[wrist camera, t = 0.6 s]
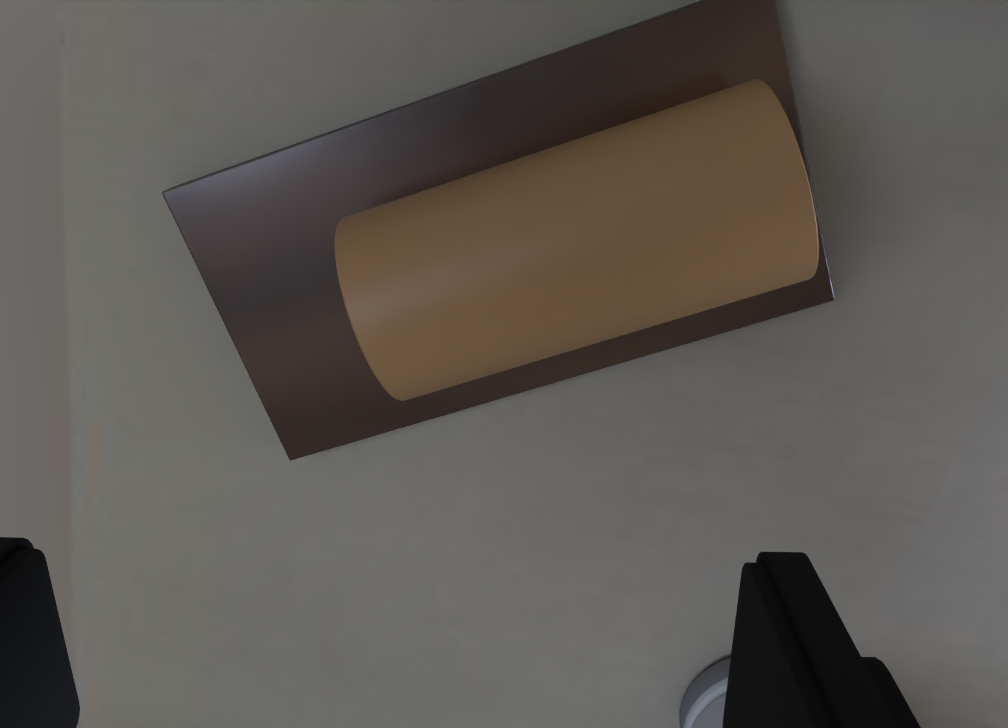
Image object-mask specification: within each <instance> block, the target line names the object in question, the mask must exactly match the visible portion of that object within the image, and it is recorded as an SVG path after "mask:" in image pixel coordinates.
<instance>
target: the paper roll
mask: <svg viewBox="0 0 1008 728" xmlns="http://www.w3.org/2000/svg"><path fill="white" fill-rule="evenodd" d="M334 246H335V260H336V268H337V274H338V279H339V284H340V288H341V292H342V296H343V300H344V304H345V307H346V310H347V313H348V316H349V319H350V322H351V325H352V328H353V331H354V333H355V336H356V338H357V341H358V343H359V345H360V347H361V350H362V352H363V354H364V356H365V358H366V360H367V362H368V364H369V366H370V368H371V369H372V371H373V373H374V375H375V376H376V378H377V379H378V381H379V382H380V384H381V385H382V386H383V388H384V389H385V390H386V391H387V392H388V393H389V394H390V395H391V396H392V397H393V398H395V399H397V400H400V401H405V400H408V399H412V398H415V397H418V396H422V395H425V394H428V393H432V392H435V391H438V390H442V389H445V388H448V387H452V386H455V385H458V384H462V383H465V382H468V381H472V380H475V379H478V378H482V377H485V376H488V375H492V374H495V373H498V372H502V371H505V370H508V369H512V368H515V367H518V366H522V365H525V364H528V363H532V362H535V361H538V360H542V359H545V358H548V357H552V356H555V355H558V354H562V353H565V352H568V351H572V350H575V349H578V348H582V347H585V346H589V345H592V344H595V343H599V342H602V341H605V340H609V339H612V338H615V337H619V336H622V335H625V334H629V333H632V332H635V331H639V330H642V329H645V328H649V327H652V326H655V325H659V324H662V323H665V322H669V321H672V320H675V319H679V318H682V317H685V316H689V315H692V314H695V313H699V312H702V311H705V310H709V309H712V308H715V307H719V306H722V305H725V304H729V303H732V302H735V301H739V300H742V299H745V298H749V297H752V296H755V295H759V294H762V293H765V292H769V291H772V290H775V289H779V288H782V287H785V286H789V285H792V284H795V283H799V282H802V281H805V280H809V279H811V278H812V277H813V276H814V275H815V273H816V270H817V266H818V258H819V241H818V229H817V221H816V214H815V208H814V203H813V198H812V193H811V189H810V184H809V180H808V177H807V173H806V169H805V166H804V162H803V159H802V156H801V153H800V150H799V147H798V144H797V141H796V138H795V135H794V133H793V130H792V128H791V125H790V123H789V121H788V118H787V116H786V114H785V112H784V110H783V108H782V106H781V104H780V102H779V101H778V99H777V97H776V96H775V94H774V93H773V91H772V90H771V89H770V87H769V86H768V85H767V84H766V83H765V82H763V81H762V80H759V79H754V80H751V81H748V82H745V83H742V84H739V85H736V86H733V87H730V88H727V89H724V90H721V91H718V92H716V93H713V94H710V95H707V96H704V97H701V98H698V99H695V100H692V101H689V102H686V103H683V104H680V105H677V106H674V107H671V108H668V109H665V110H662V111H659V112H656V113H653V114H650V115H647V116H644V117H641V118H638V119H635V120H632V121H629V122H626V123H623V124H620V125H617V126H614V127H611V128H608V129H606V130H603V131H600V132H597V133H594V134H591V135H588V136H585V137H582V138H579V139H576V140H573V141H570V142H567V143H564V144H561V145H558V146H555V147H552V148H549V149H546V150H543V151H540V152H537V153H534V154H531V155H528V156H525V157H522V158H519V159H516V160H513V161H510V162H507V163H504V164H501V165H498V166H496V167H493V168H490V169H487V170H484V171H481V172H478V173H475V174H472V175H469V176H466V177H463V178H460V179H457V180H454V181H451V182H448V183H445V184H442V185H439V186H436V187H433V188H430V189H427V190H424V191H421V192H418V193H415V194H412V195H409V196H406V197H403V198H400V199H397V200H394V201H391V202H388V203H386V204H383V205H380V206H377V207H374V208H371V209H368V210H365V211H362V212H359V213H356V214H353V215H350V216H347V217H344V218H342V219H341V220H340V221H339V223H338V224H337V227H336V231H335V242H334Z"/></svg>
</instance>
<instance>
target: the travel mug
mask: <svg viewBox="0 0 1008 728" xmlns="http://www.w3.org/2000/svg"><path fill="white" fill-rule="evenodd" d="M730 660H731V657H729V658H727V659H724V660H722V661H719V662H718V663H716V664H714V665H712V666H711V667H709V668H707V669H706V670H705V671H704V672H703V673H702V674H700V675H699V676H698V677H697V678H696V679H695V680H694V682H693V683H692V684H691V686H690V687H689V688H688V690H687V692H686V694H685V696H684V698H683V700H682V704H681V708H680V726H681V728H723V715H724V707H725V699H726V691H727V683H728V675H729V668H730Z"/></svg>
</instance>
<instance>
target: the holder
mask: <svg viewBox="0 0 1008 728" xmlns="http://www.w3.org/2000/svg"><path fill="white" fill-rule="evenodd" d="M754 79H759V80H762V81H763V82H765V83H766V84H767V85H768V86H769V87H770V89H771V90H772V91H773V93H774V94H775V96H776V97H777V99H778V101H779V102H780V104H781V106H782V108H783V110H784V112H785V114H786V116H787V118H788V121H789V123H790V125H791V128H792V130H793V133H794V135H795V138H796V141H797V144H798V147H799V150H800V153H801V156H802V159H803V162H804V166H805V169H806V173H807V177H808V180H809V184H810V189H811V193H812V198H813V203H814V208H815V214H816V221H817V229H818V241H819V258H818V266H817V270H816V273H815V275H814V276H813V277H812V278H811V279H809V280H805V281H802V282H799V283H795V284H792V285H789V286H785V287H782V288H779V289H775V290H772V291H769V292H765V293H762V294H759V295H755V296H752V297H749V298H745V299H742V300H739V301H735V302H732V303H729V304H725V305H722V306H719V307H715V308H712V309H709V310H705V311H702V312H699V313H695V314H692V315H689V316H685V317H682V318H679V319H675V320H672V321H669V322H665V323H662V324H659V325H655V326H652V327H649V328H645V329H642V330H639V331H635V332H632V333H629V334H625V335H622V336H619V337H615V338H612V339H609V340H605V341H602V342H599V343H595V344H592V345H589V346H585V347H582V348H578V349H575V350H572V351H568V352H565V353H562V354H558V355H555V356H552V357H548V358H545V359H542V360H538V361H535V362H532V363H528V364H525V365H522V366H518V367H515V368H512V369H508V370H505V371H502V372H498V373H495V374H492V375H488V376H485V377H482V378H478V379H475V380H472V381H468V382H465V383H462V384H458V385H455V386H452V387H448V388H445V389H442V390H438V391H435V392H432V393H428V394H425V395H422V396H418V397H415V398H412V399H408V400H405V401H400V400H397V399H395V398H393V397H392V396H391V395H390V394H389V393H388V392H387V391H386V390H385V389H384V388H383V386H382V385H381V384H380V382H379V381H378V379H377V378H376V376H375V375H374V373H373V371H372V369H371V368H370V366H369V364H368V362H367V360H366V358H365V356H364V354H363V352H362V350H361V347H360V345H359V343H358V341H357V338H356V336H355V333H354V331H353V328H352V325H351V322H350V319H349V316H348V313H347V310H346V307H345V304H344V300H343V296H342V292H341V288H340V284H339V279H338V274H337V268H336V260H335V246H334V242H335V231H336V227H337V224H338V223H339V221H340V220H341V219H342V218H344V217H347V216H350V215H353V214H356V213H359V212H362V211H365V210H368V209H371V208H374V207H377V206H380V205H383V204H386V203H388V202H391V201H394V200H397V199H400V198H403V197H406V196H409V195H412V194H415V193H418V192H421V191H424V190H427V189H430V188H433V187H436V186H439V185H442V184H445V183H448V182H451V181H454V180H457V179H460V178H463V177H466V176H469V175H472V174H475V173H478V172H481V171H484V170H487V169H490V168H493V167H496V166H498V165H501V164H504V163H507V162H510V161H513V160H516V159H519V158H522V157H525V156H528V155H531V154H534V153H537V152H540V151H543V150H546V149H549V148H552V147H555V146H558V145H561V144H564V143H567V142H570V141H573V140H576V139H579V138H582V137H585V136H588V135H591V134H594V133H597V132H600V131H603V130H606V129H608V128H611V127H614V126H617V125H620V124H623V123H626V122H629V121H632V120H635V119H638V118H641V117H644V116H647V115H650V114H653V113H656V112H659V111H662V110H665V109H668V108H671V107H674V106H677V105H680V104H683V103H686V102H689V101H692V100H695V99H698V98H701V97H704V96H707V95H710V94H713V93H716V92H718V91H721V90H724V89H727V88H730V87H733V86H736V85H739V84H742V83H745V82H748V81H751V80H754ZM162 194H163V196H164V198H165V200H166V202H167V204H168V207H169V209H170V211H171V213H172V215H173V217H174V219H175V221H176V223H177V225H178V227H179V230H180V232H181V234H182V236H183V238H184V240H185V242H186V244H187V246H188V248H189V250H190V253H191V255H192V257H193V259H194V261H195V263H196V265H197V267H198V269H199V271H200V273H201V276H202V278H203V280H204V282H205V284H206V286H207V288H208V290H209V292H210V294H211V296H212V299H213V301H214V303H215V305H216V307H217V309H218V311H219V313H220V315H221V317H222V319H223V322H224V324H225V326H226V328H227V330H228V332H229V334H230V336H231V338H232V340H233V342H234V345H235V347H236V349H237V351H238V353H239V355H240V357H241V359H242V361H243V363H244V365H245V368H246V370H247V372H248V374H249V376H250V378H251V380H252V382H253V384H254V386H255V388H256V391H257V393H258V395H259V397H260V399H261V401H262V403H263V405H264V407H265V409H266V412H267V414H268V416H269V418H270V420H271V422H272V424H273V426H274V428H275V430H276V432H277V435H278V437H279V439H280V441H281V443H282V445H283V447H284V449H285V451H286V453H287V455H288V458H289V460H293V459H297V458H300V457H304V456H307V455H310V454H314V453H317V452H320V451H324V450H327V449H331V448H334V447H337V446H341V445H344V444H348V443H351V442H354V441H358V440H361V439H365V438H368V437H371V436H375V435H378V434H381V433H385V432H388V431H392V430H395V429H398V428H402V427H405V426H409V425H412V424H415V423H419V422H422V421H426V420H429V419H432V418H436V417H439V416H443V415H446V414H449V413H453V412H456V411H459V410H463V409H466V408H470V407H473V406H476V405H480V404H483V403H487V402H490V401H493V400H497V399H500V398H504V397H507V396H510V395H514V394H517V393H520V392H524V391H527V390H531V389H534V388H537V387H541V386H544V385H548V384H551V383H554V382H558V381H561V380H565V379H568V378H571V377H575V376H578V375H582V374H585V373H588V372H592V371H595V370H598V369H602V368H605V367H609V366H612V365H615V364H619V363H622V362H626V361H629V360H632V359H636V358H639V357H643V356H646V355H649V354H653V353H656V352H659V351H663V350H666V349H670V348H673V347H676V346H680V345H683V344H687V343H690V342H693V341H697V340H700V339H704V338H707V337H710V336H714V335H717V334H721V333H724V332H727V331H731V330H734V329H737V328H741V327H744V326H748V325H751V324H754V323H758V322H761V321H765V320H768V319H771V318H775V317H778V316H782V315H785V314H788V313H792V312H795V311H798V310H802V309H805V308H809V307H812V306H815V305H819V304H822V303H826V302H829V301H832V300H834V299H835V297H834V292H833V287H832V282H831V277H830V272H829V267H828V262H827V257H826V252H825V248H824V243H823V238H822V233H821V228H820V223H819V218H818V213H817V208H816V203H815V198H814V193H813V188H812V183H811V178H810V173H809V168H808V163H807V158H806V153H805V148H804V143H803V138H802V133H801V128H800V123H799V118H798V113H797V108H796V103H795V98H794V93H793V88H792V83H791V78H790V73H789V68H788V63H787V59H786V54H785V49H784V44H783V39H782V34H781V29H780V24H779V19H778V14H777V9H776V4H775V0H701V1H698V2H696V3H693V4H690V5H687V6H684V7H681V8H679V9H676V10H673V11H670V12H667V13H664V14H662V15H659V16H656V17H653V18H650V19H647V20H645V21H642V22H639V23H636V24H633V25H630V26H628V27H625V28H622V29H619V30H616V31H613V32H611V33H608V34H605V35H602V36H599V37H596V38H594V39H591V40H588V41H585V42H582V43H579V44H577V45H574V46H571V47H568V48H565V49H562V50H560V51H557V52H554V53H551V54H548V55H545V56H543V57H540V58H537V59H534V60H531V61H528V62H526V63H523V64H520V65H517V66H514V67H511V68H509V69H506V70H503V71H500V72H497V73H494V74H492V75H489V76H486V77H483V78H480V79H477V80H475V81H472V82H469V83H466V84H463V85H460V86H458V87H455V88H452V89H449V90H446V91H443V92H441V93H438V94H435V95H432V96H429V97H426V98H424V99H421V100H418V101H415V102H412V103H409V104H407V105H404V106H401V107H398V108H395V109H392V110H390V111H387V112H384V113H381V114H378V115H375V116H373V117H370V118H367V119H364V120H361V121H358V122H356V123H353V124H350V125H347V126H344V127H341V128H339V129H336V130H333V131H330V132H327V133H324V134H322V135H319V136H316V137H313V138H310V139H307V140H305V141H302V142H299V143H296V144H293V145H290V146H288V147H285V148H282V149H279V150H276V151H273V152H271V153H268V154H265V155H262V156H259V157H256V158H254V159H251V160H248V161H245V162H242V163H239V164H237V165H234V166H231V167H228V168H225V169H222V170H220V171H217V172H214V173H211V174H208V175H205V176H203V177H200V178H197V179H194V180H191V181H188V182H186V183H183V184H180V185H177V186H174V187H172V188H170V189H168V190H165V191H163V192H162Z"/></svg>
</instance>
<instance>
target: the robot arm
mask: <svg viewBox="0 0 1008 728" xmlns="http://www.w3.org/2000/svg"><path fill="white" fill-rule="evenodd" d="M79 712H80V706H79V700H78V696H77V691H76V687H75V683H74V679H73V674H72V670H71V666H70V661H69V657H68V653H67V648H66V644H65V640H64V636H63V632H62V627H61V623H60V618H59V615H58V610H57V606H56V601H55V597H54V593H53V588H52V584H51V580H50V576H49V571H48V567H47V563H46V559H45V556H44V554H43V553H42V551H40V550H38V549H34V547H33V545H32V543H31V542H30V541H29V540H28V539H25V538H6V537H0V728H76V726H77V724H78V719H79ZM723 728H921V727H920V726H919V724H918V722H917V720H916V718H915V717H914V715H913V713H912V711H911V710H910V708H909V706H908V704H907V702H906V701H905V699H904V697H903V695H902V693H901V692H900V690H899V688H898V686H897V685H896V683H895V681H894V679H893V677H892V676H891V674H890V672H889V670H888V669H887V668H886V666H885V665H884V663H883V662H882V661H880V660H879V659H877V658H876V657H861V656H860V654H859V652H858V651H857V649H856V647H855V645H854V643H853V641H852V639H851V637H850V635H849V634H848V632H847V630H846V628H845V626H844V624H843V622H842V620H841V618H840V616H839V615H838V613H837V611H836V609H835V607H834V605H833V603H832V601H831V599H830V598H829V596H828V594H827V592H826V590H825V588H824V586H823V584H822V582H821V580H820V579H819V577H818V575H817V573H816V571H815V569H814V567H813V565H812V563H811V562H810V560H809V558H808V557H807V555H806V554H805V553H800V552H761V553H759V555H758V557H757V560H756V563H745V564H744V565H743V568H742V573H741V581H740V589H739V597H738V605H737V612H736V620H735V628H734V636H733V644H732V652H731V660H730V668H729V675H728V683H727V691H726V699H725V707H724V715H723Z"/></svg>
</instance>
